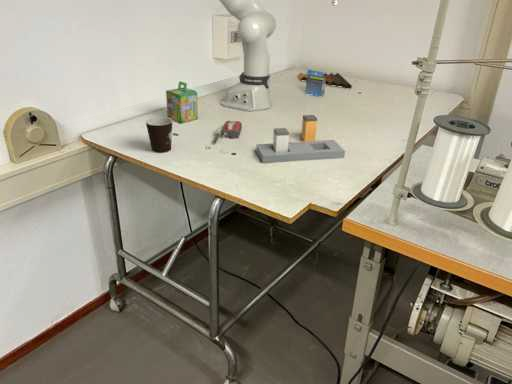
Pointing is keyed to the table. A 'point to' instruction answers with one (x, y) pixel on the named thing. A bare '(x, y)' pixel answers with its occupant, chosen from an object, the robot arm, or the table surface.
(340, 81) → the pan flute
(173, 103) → the chalk box
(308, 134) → the orange plug
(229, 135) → the walkie-talkie
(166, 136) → the coffee mug
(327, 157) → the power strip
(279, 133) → the white plug
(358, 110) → the table surface
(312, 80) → the label tape box
